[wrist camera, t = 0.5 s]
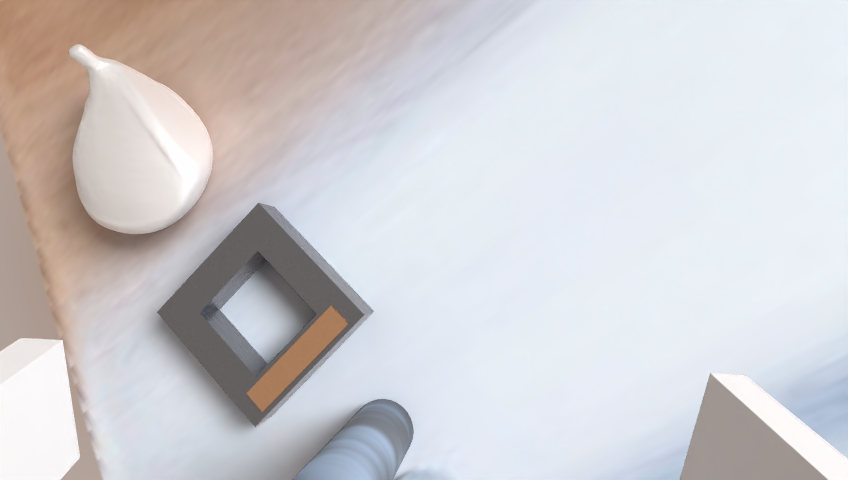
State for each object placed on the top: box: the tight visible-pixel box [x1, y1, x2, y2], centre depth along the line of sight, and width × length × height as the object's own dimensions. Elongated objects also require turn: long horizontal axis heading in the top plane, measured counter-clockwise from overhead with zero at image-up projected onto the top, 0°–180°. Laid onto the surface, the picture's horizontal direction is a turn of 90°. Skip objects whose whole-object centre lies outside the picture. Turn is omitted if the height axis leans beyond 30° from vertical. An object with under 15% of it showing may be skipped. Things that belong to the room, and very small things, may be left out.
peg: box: [293, 399, 413, 480], centre depth 29 cm, size 4×4×12 cm
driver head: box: [69, 44, 213, 234], centre depth 36 cm, size 10×11×12 cm
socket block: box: [157, 203, 374, 427], centre depth 36 cm, size 12×12×3 cm
